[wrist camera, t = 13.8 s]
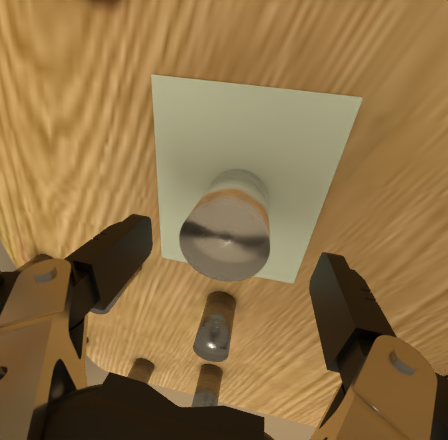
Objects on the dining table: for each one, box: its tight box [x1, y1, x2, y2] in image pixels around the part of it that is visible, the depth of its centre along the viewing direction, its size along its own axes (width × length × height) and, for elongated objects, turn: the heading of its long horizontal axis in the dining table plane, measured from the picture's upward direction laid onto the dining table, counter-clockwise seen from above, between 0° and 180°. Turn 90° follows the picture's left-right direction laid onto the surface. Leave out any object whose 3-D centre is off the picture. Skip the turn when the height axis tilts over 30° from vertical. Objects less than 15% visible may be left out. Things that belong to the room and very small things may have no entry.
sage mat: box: [151, 74, 363, 284], centre depth 15 cm, size 12×14×1 cm
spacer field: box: [13, 254, 236, 407], centre depth 24 cm, size 23×23×5 cm
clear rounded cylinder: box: [179, 169, 270, 281], centre depth 13 cm, size 4×4×6 cm
